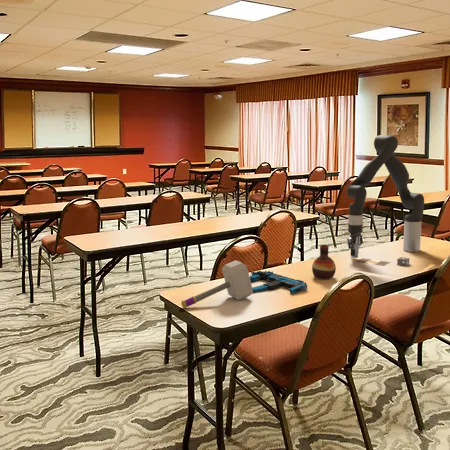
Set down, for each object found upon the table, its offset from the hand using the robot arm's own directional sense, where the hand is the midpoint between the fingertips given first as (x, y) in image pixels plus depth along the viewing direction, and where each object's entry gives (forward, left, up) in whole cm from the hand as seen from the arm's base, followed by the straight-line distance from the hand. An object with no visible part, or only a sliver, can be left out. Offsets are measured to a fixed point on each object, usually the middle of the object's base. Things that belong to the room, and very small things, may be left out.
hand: (354, 255), depth 284 cm
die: (-4, +25, -4) cm, 25 cm away
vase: (+37, +2, -4) cm, 37 cm away
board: (0, +8, -4) cm, 9 cm away
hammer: (+96, -15, -4) cm, 98 cm away
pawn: (0, 0, -1) cm, 1 cm away
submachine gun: (+64, -12, -4) cm, 65 cm away
